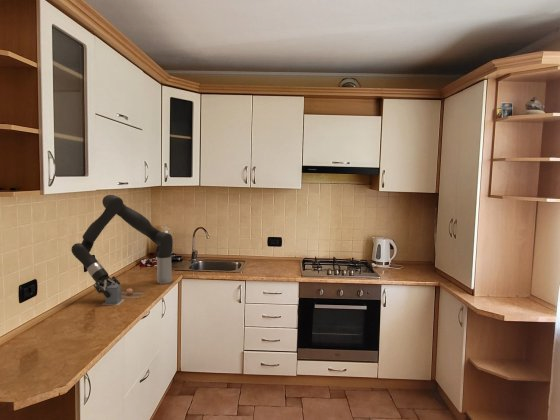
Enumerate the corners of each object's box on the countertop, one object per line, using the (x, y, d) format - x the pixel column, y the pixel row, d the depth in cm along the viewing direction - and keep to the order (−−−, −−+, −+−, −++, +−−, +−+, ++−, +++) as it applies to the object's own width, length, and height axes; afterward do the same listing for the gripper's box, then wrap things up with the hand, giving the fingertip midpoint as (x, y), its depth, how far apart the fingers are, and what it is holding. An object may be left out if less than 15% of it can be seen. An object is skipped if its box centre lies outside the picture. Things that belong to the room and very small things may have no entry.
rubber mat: (108, 301, 213) (108, 299, 213) (125, 301, 214) (124, 299, 214) (101, 306, 204) (101, 304, 204) (118, 306, 205) (118, 304, 205)
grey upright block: (110, 300, 212) (109, 284, 211) (121, 300, 212) (121, 284, 211) (105, 303, 206) (105, 287, 205) (117, 304, 206) (116, 287, 205)
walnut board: (122, 292, 229) (122, 290, 229) (145, 292, 229) (145, 290, 229) (112, 300, 215) (112, 298, 215) (137, 300, 215) (137, 298, 215)
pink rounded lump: (127, 293, 224) (127, 288, 223) (133, 293, 224) (133, 288, 223) (125, 295, 220) (125, 290, 220) (131, 295, 220) (131, 290, 220)
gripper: (91, 271, 203) (109, 294, 200) (110, 265, 216) (127, 286, 214) (83, 279, 205) (101, 302, 203) (103, 273, 219) (120, 295, 216)
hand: (115, 294), depth 208 cm, fingers closed on grey upright block, 8 cm apart
